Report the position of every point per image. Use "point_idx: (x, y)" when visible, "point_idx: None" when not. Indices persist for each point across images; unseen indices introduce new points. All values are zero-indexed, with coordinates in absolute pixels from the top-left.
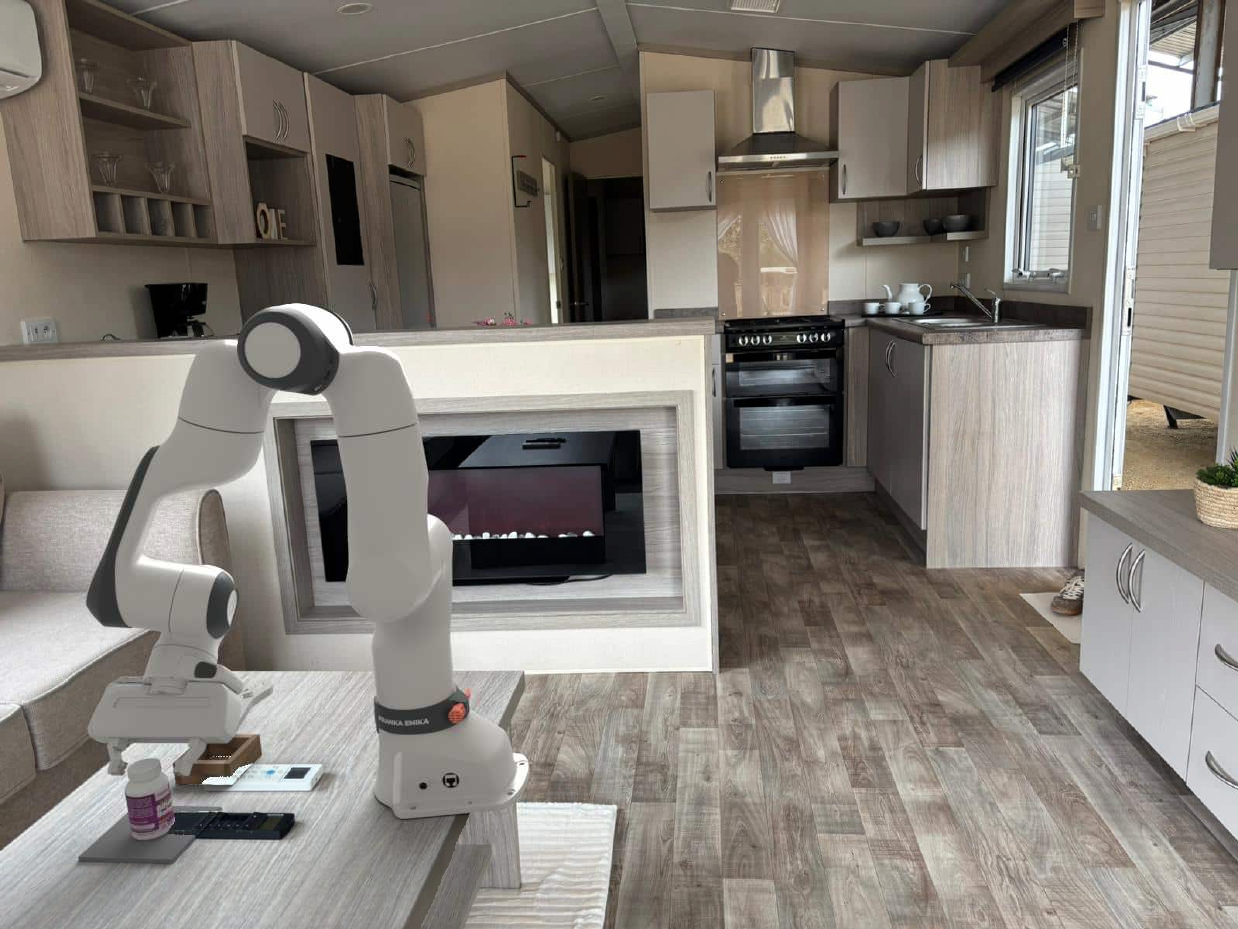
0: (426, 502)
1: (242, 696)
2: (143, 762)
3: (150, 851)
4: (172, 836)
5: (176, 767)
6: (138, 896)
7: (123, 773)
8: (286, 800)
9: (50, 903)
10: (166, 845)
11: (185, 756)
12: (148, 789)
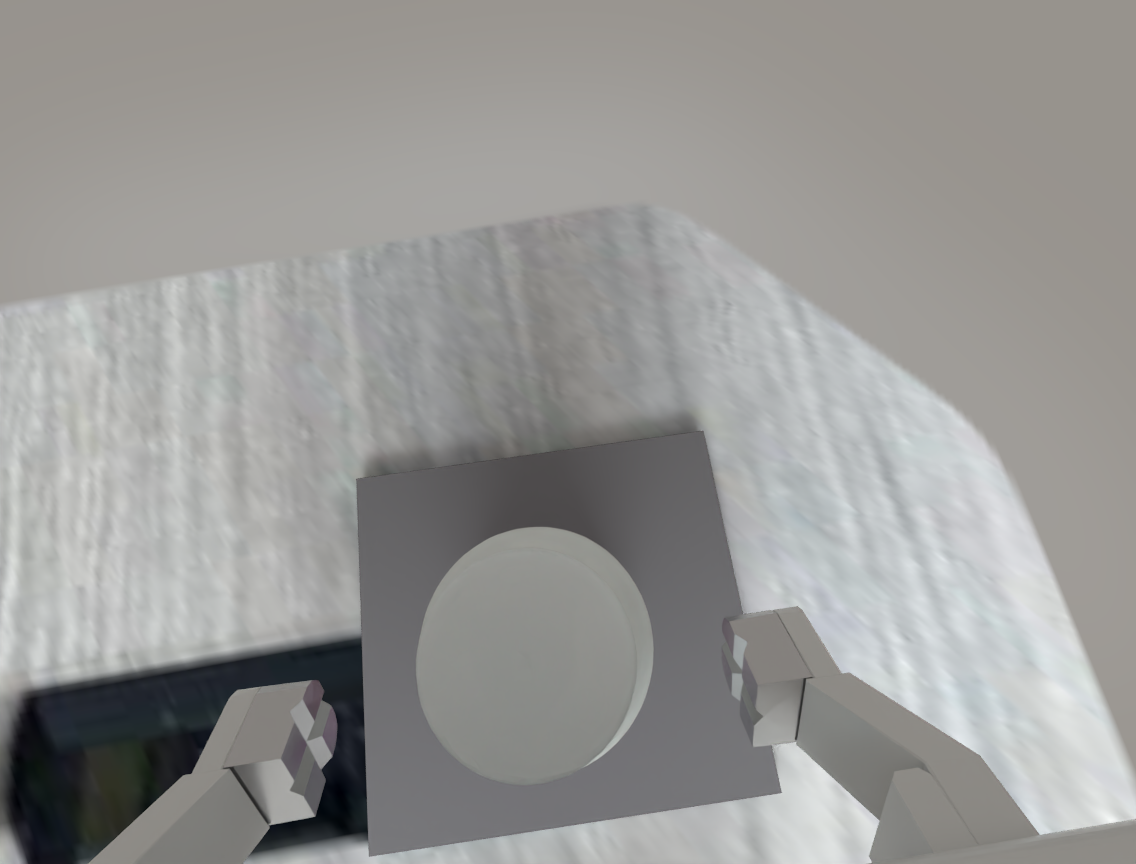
0: None
1: None
2: (559, 700)
3: (466, 505)
4: None
5: (280, 706)
6: (369, 331)
7: (725, 671)
8: None
9: (609, 262)
10: (429, 547)
11: (193, 797)
12: (454, 566)
